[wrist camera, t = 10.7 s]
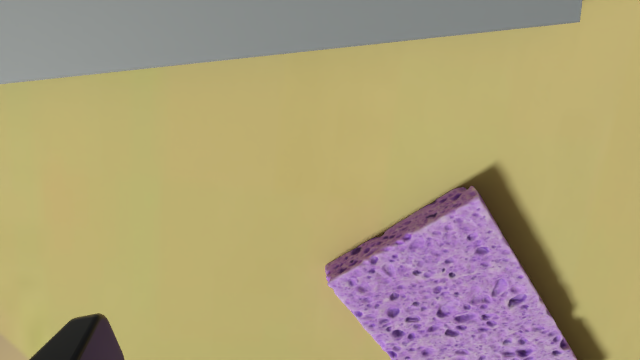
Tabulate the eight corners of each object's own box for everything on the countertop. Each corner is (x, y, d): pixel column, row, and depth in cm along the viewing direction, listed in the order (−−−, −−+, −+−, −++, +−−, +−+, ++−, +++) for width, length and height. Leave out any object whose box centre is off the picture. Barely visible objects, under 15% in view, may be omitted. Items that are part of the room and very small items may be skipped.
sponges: (453, 421, 29) (463, 453, 28) (319, 256, 24) (322, 284, 23) (581, 361, 28) (599, 392, 26) (467, 172, 23) (481, 196, 21)
